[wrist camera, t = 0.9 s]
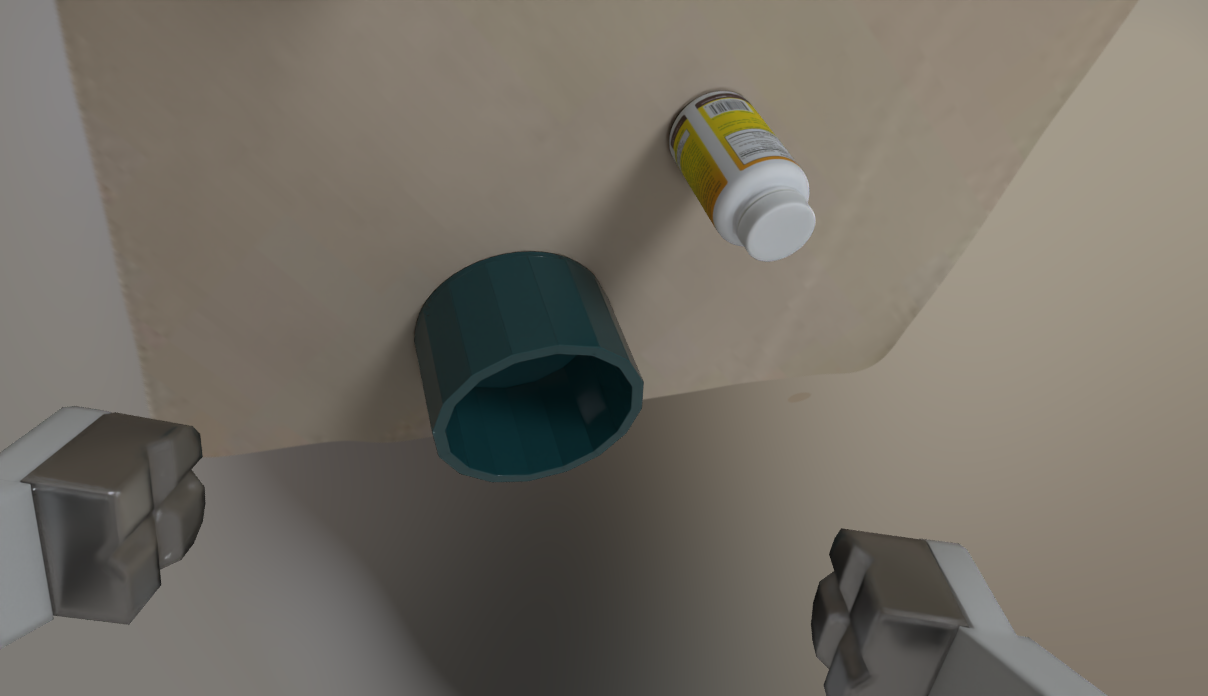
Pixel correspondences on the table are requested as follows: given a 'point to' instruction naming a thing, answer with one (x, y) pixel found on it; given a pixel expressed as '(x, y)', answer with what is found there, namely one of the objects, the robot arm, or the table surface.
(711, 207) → the supplement bottle
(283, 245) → the table surface
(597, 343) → the pot
